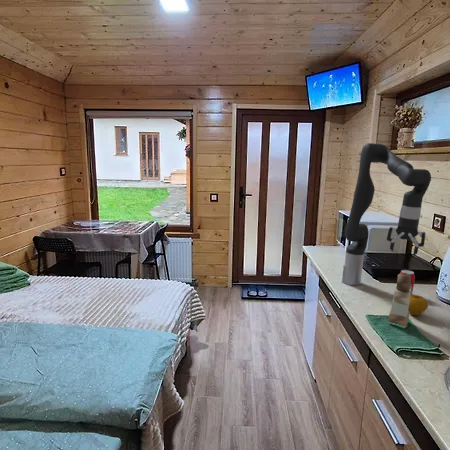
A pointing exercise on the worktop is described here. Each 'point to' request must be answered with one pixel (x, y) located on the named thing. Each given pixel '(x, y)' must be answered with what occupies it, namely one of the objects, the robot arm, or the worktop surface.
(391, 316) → the tower base
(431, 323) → the worktop surface
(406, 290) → the walnut cylinder
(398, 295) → the tower top
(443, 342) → the worktop surface
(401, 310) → the tower mid
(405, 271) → the soda can
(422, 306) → the apple
